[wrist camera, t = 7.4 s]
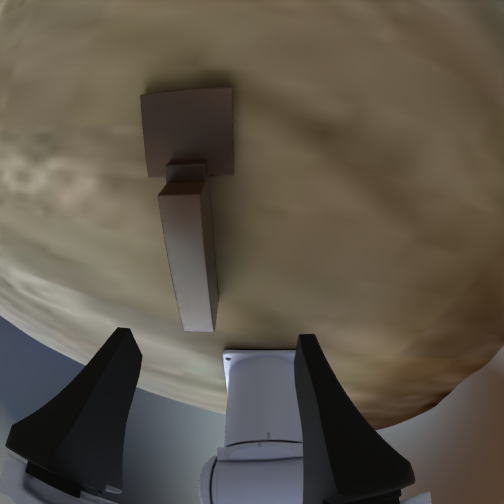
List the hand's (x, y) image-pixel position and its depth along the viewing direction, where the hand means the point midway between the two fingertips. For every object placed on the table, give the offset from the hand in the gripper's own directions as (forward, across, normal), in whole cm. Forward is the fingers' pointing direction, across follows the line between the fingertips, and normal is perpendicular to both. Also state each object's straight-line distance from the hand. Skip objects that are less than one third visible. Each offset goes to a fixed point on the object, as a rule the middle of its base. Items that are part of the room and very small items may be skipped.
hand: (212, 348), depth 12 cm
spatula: (+8, +2, -2) cm, 9 cm away
